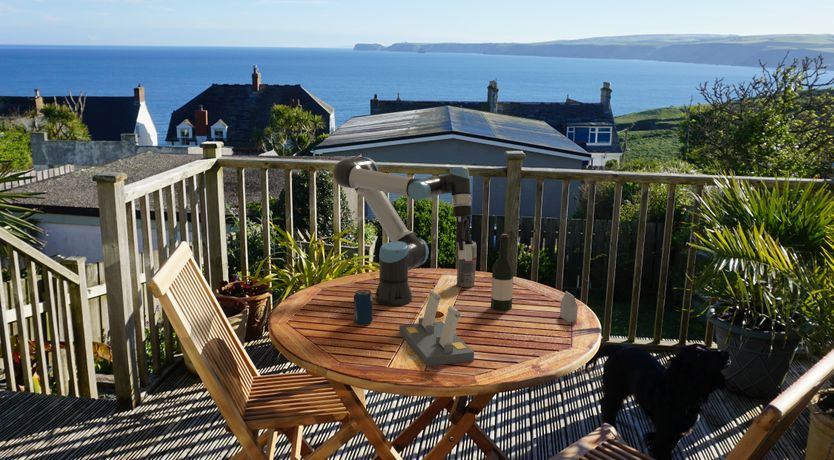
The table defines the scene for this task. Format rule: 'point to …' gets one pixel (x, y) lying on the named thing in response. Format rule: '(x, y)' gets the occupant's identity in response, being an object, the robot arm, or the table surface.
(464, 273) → the spray can
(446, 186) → the robot arm
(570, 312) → the tea bag
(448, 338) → the lever
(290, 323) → the table surface
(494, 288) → the wine bottle
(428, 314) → the lever
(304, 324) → the table surface
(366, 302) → the soda can
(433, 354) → the switch board
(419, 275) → the table surface
